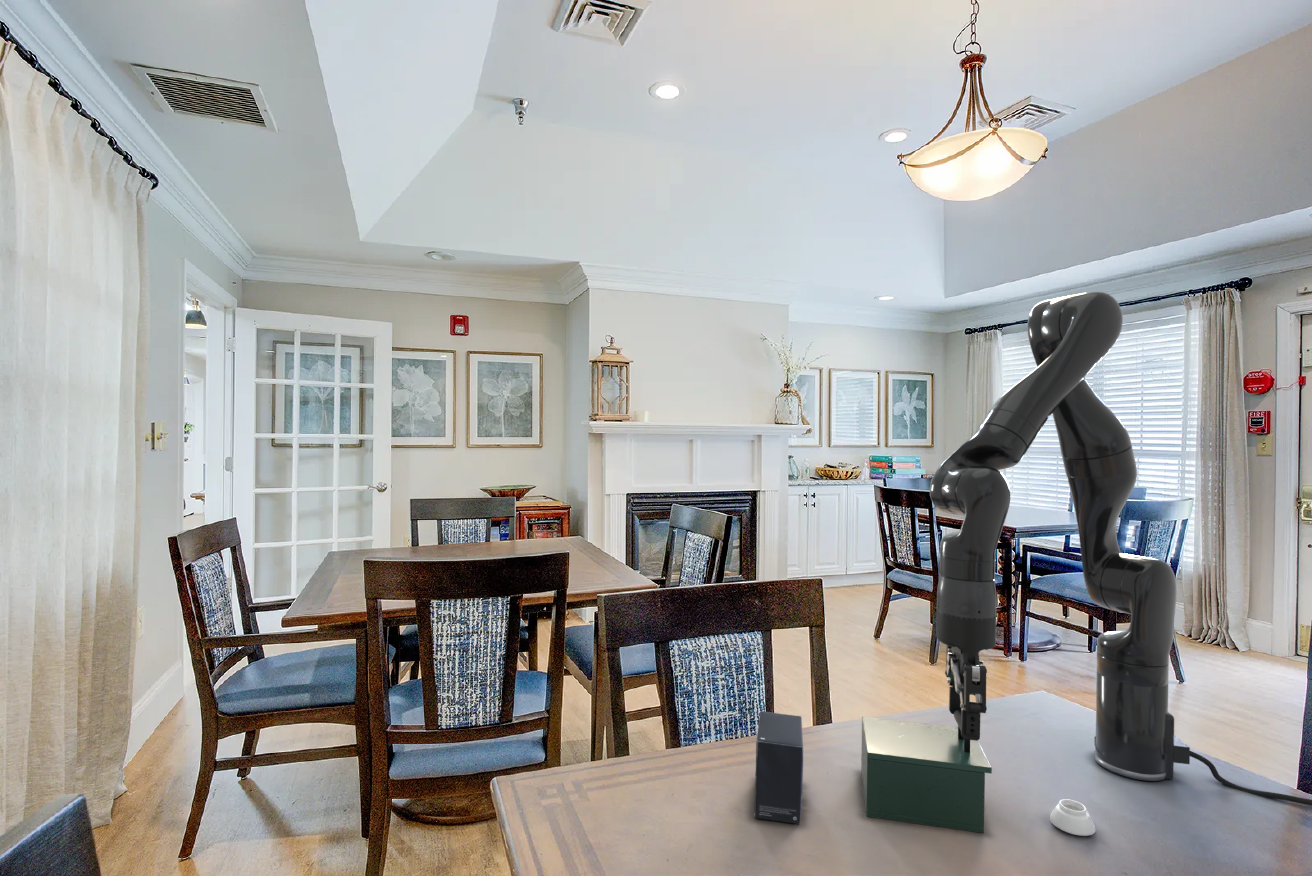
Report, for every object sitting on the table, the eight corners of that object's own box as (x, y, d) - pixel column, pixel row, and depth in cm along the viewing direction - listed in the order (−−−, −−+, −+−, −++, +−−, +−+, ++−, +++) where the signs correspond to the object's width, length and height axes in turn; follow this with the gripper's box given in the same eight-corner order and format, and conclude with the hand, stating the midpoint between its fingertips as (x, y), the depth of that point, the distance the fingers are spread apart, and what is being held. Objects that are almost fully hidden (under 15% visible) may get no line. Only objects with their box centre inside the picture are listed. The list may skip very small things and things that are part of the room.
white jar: (1087, 843, 85) (1100, 829, 88) (1088, 820, 85) (1100, 806, 88) (1044, 826, 89) (1057, 812, 92) (1045, 804, 89) (1058, 791, 92)
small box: (803, 826, 88) (804, 746, 88) (753, 819, 89) (754, 741, 89) (802, 785, 98) (803, 714, 98) (757, 780, 99) (758, 709, 99)
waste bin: (964, 786, 98) (965, 733, 98) (984, 833, 87) (985, 773, 87) (861, 773, 102) (861, 722, 102) (866, 816, 90) (867, 758, 90)
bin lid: (971, 734, 98) (971, 701, 98) (991, 773, 87) (992, 736, 87) (861, 721, 102) (862, 690, 102) (867, 758, 90) (867, 723, 90)
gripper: (1009, 625, 85) (1007, 752, 85) (983, 599, 99) (980, 709, 99) (946, 619, 87) (943, 744, 87) (929, 595, 101) (926, 703, 101)
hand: (963, 725), depth 93 cm, fingers open, 8 cm apart
